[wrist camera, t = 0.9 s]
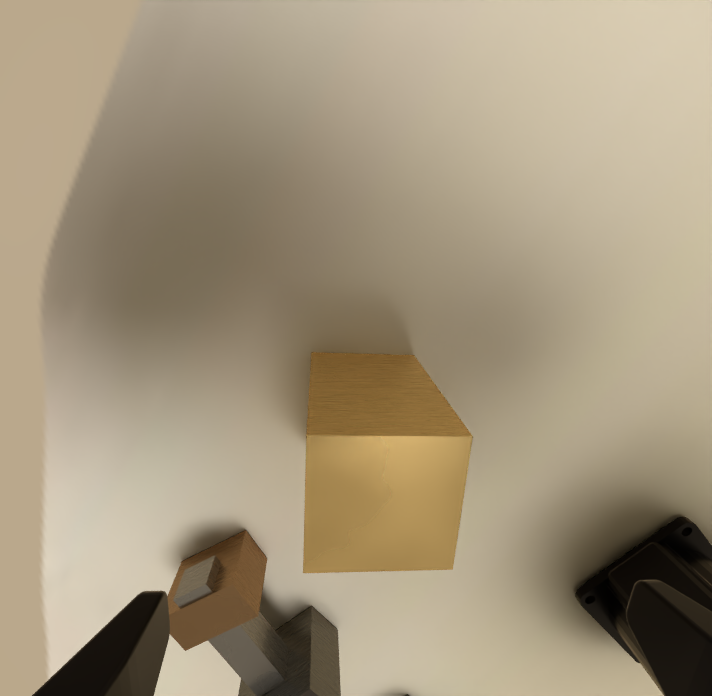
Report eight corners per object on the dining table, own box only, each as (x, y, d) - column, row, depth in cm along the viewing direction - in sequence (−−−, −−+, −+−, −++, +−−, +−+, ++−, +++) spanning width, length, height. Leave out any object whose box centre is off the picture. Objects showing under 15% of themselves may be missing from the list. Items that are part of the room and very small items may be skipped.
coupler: (413, 354, 16) (472, 436, 10) (404, 445, 17) (452, 569, 11) (311, 352, 16) (306, 435, 10) (309, 445, 17) (303, 573, 11)
